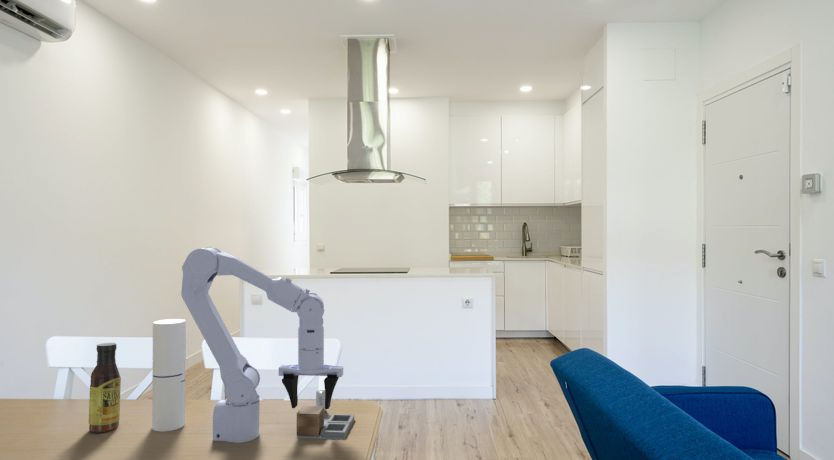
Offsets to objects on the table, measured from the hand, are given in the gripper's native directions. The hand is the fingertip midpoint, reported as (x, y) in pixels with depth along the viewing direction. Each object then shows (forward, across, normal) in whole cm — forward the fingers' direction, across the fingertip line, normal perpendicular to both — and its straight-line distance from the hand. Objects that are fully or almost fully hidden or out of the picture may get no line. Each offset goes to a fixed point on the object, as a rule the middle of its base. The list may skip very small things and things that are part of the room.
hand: (311, 407), depth 119 cm
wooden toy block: (+6, 0, 0) cm, 6 cm away
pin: (+7, +1, -14) cm, 15 cm away
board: (+7, -3, -2) cm, 8 cm away
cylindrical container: (+7, +36, -4) cm, 36 cm away
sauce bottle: (+7, +50, 0) cm, 50 cm away
